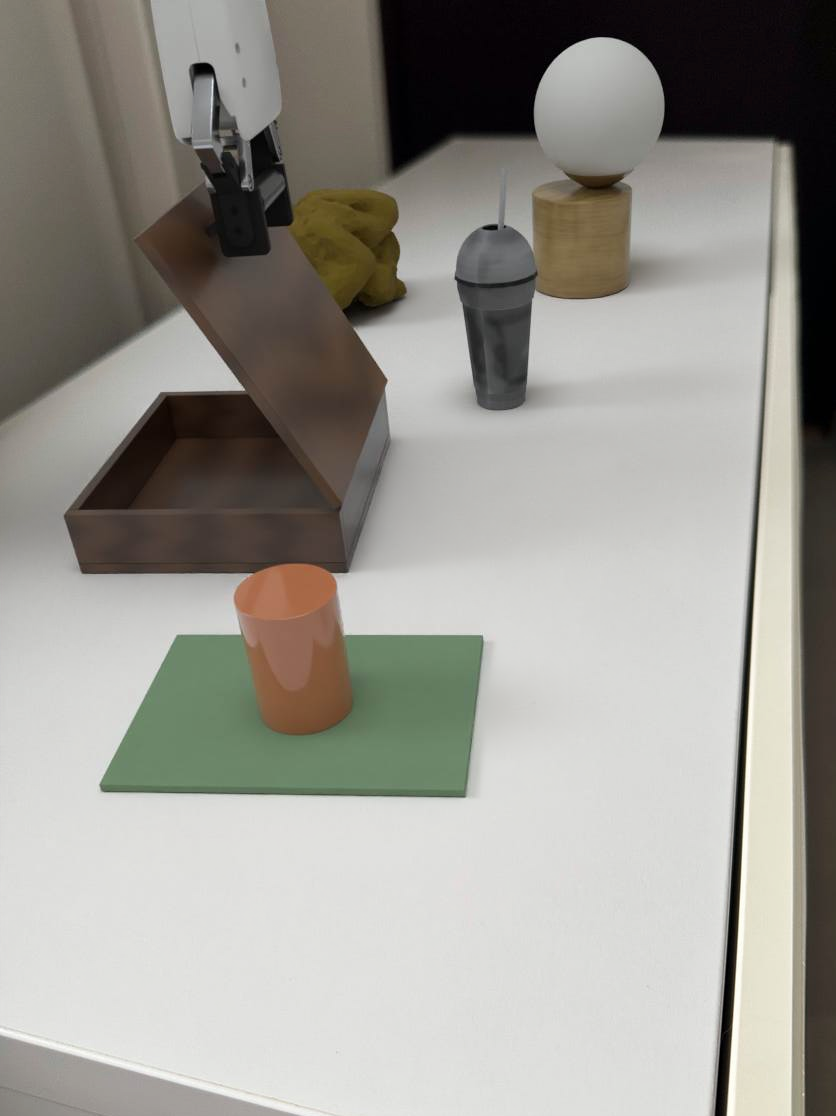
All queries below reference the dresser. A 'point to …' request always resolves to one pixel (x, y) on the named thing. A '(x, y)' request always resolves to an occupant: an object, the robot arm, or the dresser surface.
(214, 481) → the chest
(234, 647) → the mat
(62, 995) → the dresser surface
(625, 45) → the lamp
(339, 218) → the olive lumpy blob
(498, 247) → the beverage cup
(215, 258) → the lid
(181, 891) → the dresser surface
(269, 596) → the cylinder
